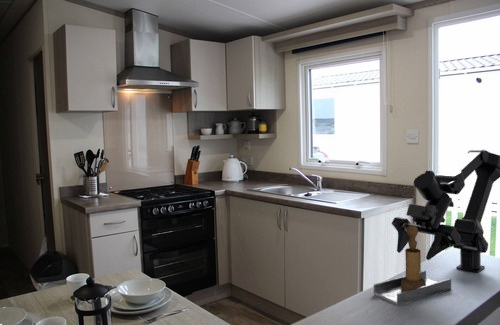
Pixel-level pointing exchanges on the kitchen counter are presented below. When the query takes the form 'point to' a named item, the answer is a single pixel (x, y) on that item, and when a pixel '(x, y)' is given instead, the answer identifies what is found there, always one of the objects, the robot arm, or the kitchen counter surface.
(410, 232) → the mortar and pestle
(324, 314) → the kitchen counter surface
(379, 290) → the floor track
